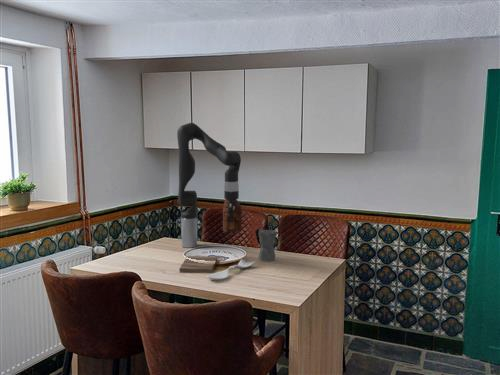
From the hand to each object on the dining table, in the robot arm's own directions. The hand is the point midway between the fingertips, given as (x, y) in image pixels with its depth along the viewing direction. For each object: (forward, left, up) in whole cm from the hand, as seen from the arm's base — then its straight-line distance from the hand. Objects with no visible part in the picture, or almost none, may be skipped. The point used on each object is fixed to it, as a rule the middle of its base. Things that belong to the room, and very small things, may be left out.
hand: (231, 220), depth 257 cm
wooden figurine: (0, 0, -6) cm, 6 cm away
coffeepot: (-4, +18, -22) cm, 29 cm away
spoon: (+22, +2, -22) cm, 31 cm away
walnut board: (+11, -16, -22) cm, 29 cm away
